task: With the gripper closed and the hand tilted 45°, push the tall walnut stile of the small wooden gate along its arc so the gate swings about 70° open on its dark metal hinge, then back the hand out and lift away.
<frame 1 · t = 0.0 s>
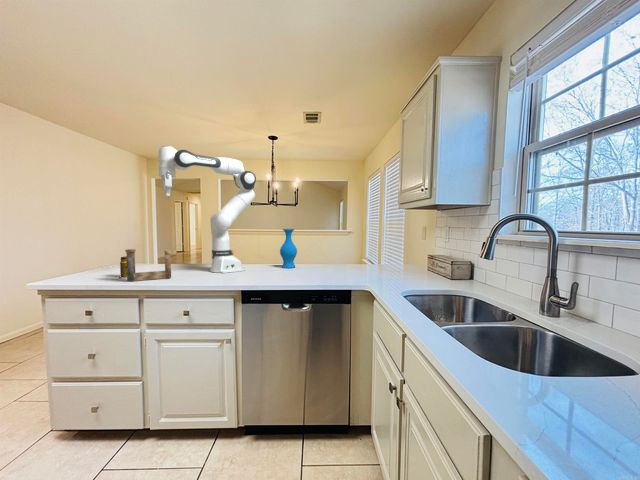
hand: (167, 196, 171), 48 cm above the worktop, tool pointing down, fingers open, 8 cm apart
gate post: (131, 280, 158), on the worktop
gate: (150, 264, 159), point 9 cm above the worktop, hinge at 0.0°
condiment: (125, 277, 168), on the worktop
vase: (288, 267, 207), on the worktop
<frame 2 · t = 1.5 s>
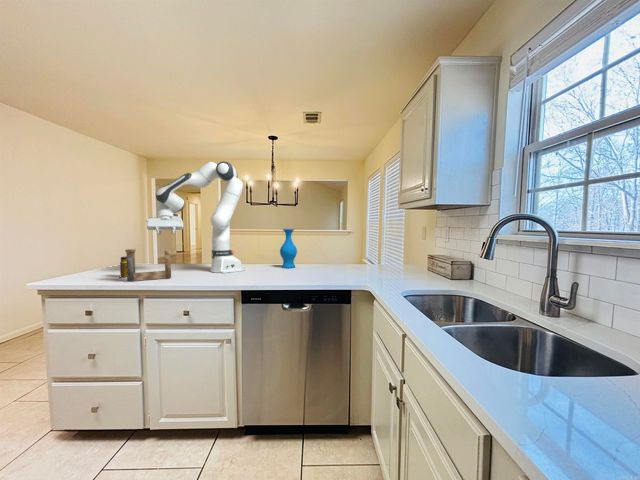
hand: (166, 233, 175), 25 cm above the worktop, tool tilted 45°, fingers open, 6 cm apart
nothing on the worktop moved.
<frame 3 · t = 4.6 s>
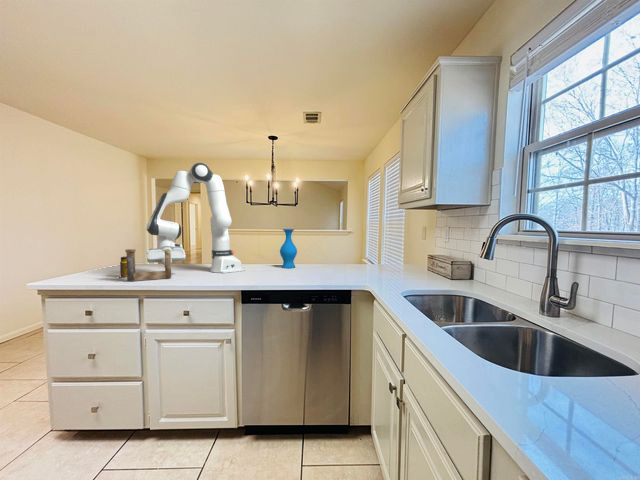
hand: (167, 266, 165), 7 cm above the worktop, tool tilted 45°, fingers closed, pressing on gate
gate: (150, 264, 159), point 9 cm above the worktop, hinge at 1.4°, touching gripper
everything else where it was.
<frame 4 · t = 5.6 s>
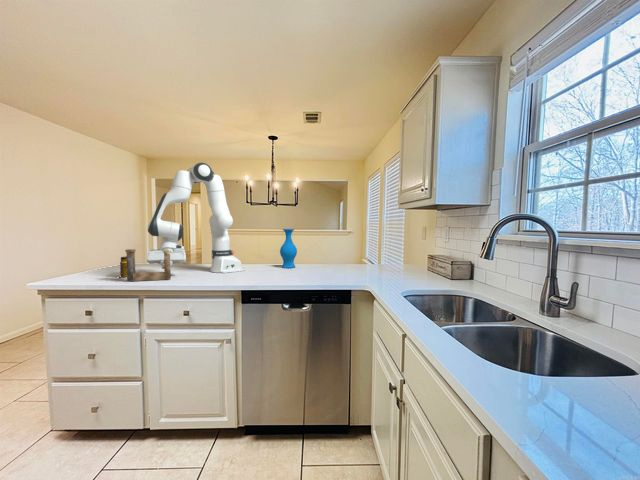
hand: (165, 268, 162), 6 cm above the worktop, tool tilted 45°, fingers closed
gate: (149, 264, 157), point 9 cm above the worktop, hinge at 13.2°, touching gripper
everything else where it was.
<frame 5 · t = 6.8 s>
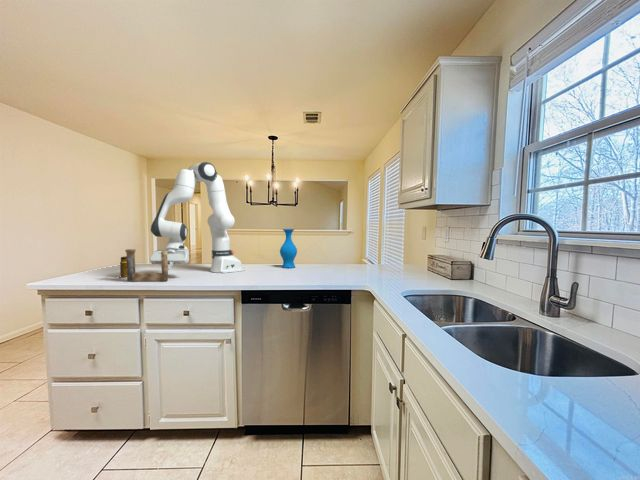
hand: (166, 269, 158), 6 cm above the worktop, tool tilted 45°, fingers closed, pressing on gate
gate: (148, 265, 155), point 9 cm above the worktop, hinge at 27.0°, touching gripper
everything else where it was.
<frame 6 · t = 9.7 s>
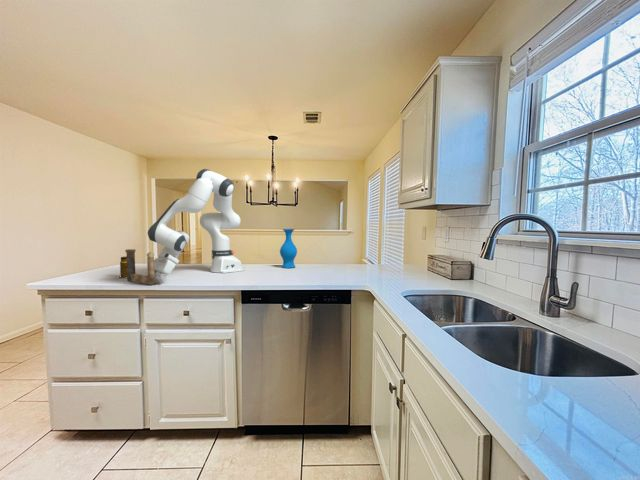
hand: (151, 279, 150), 2 cm above the worktop, tool tilted 40°, fingers closed
gate: (140, 266, 150), point 9 cm above the worktop, hinge at 57.8°, touching gripper
everything else where it was.
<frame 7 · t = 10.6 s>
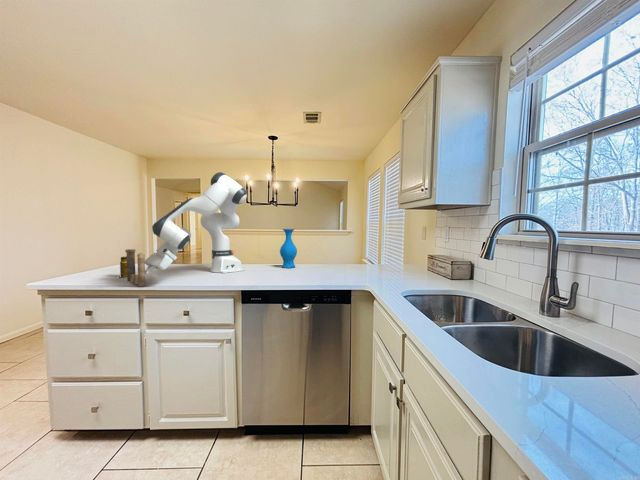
hand: (146, 273, 145), 6 cm above the worktop, tool tilted 45°, fingers closed, pressing on gate
gate: (135, 267, 149), point 9 cm above the worktop, hinge at 72.2°, touching gripper
everything else where it was.
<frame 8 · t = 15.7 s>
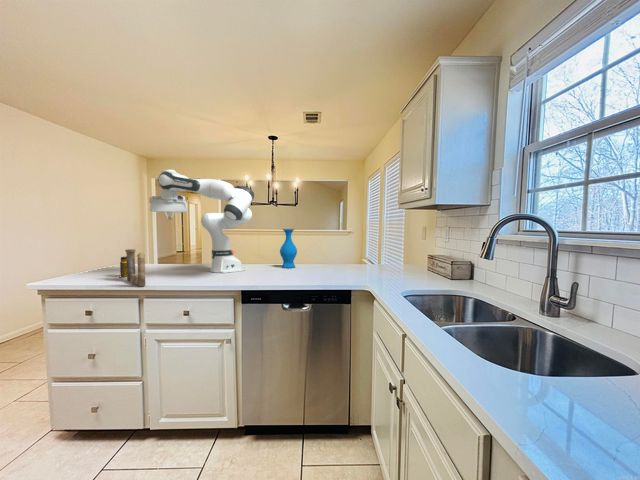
hand: (169, 219, 173), 34 cm above the worktop, tool pointing down, fingers closed
gate: (135, 267, 149), point 9 cm above the worktop, hinge at 72.2°
everything else where it was.
at the end: gate at +72° (first picture: +0°); condiment moved 0.3 cm from its start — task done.
